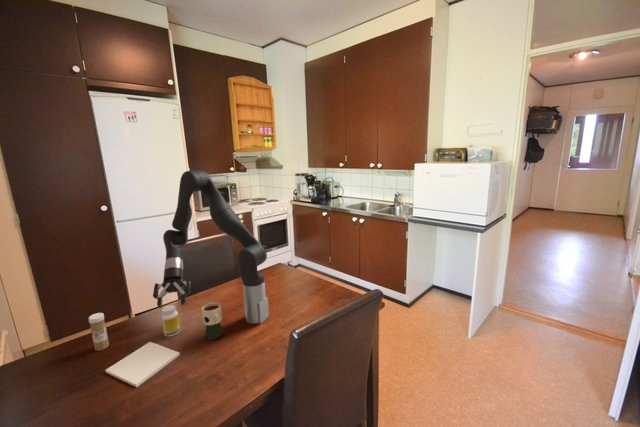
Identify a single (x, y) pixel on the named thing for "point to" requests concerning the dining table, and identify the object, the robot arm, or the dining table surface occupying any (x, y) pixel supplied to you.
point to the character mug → (212, 319)
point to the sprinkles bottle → (98, 331)
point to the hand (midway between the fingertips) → (171, 306)
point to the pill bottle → (170, 321)
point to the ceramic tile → (142, 363)
